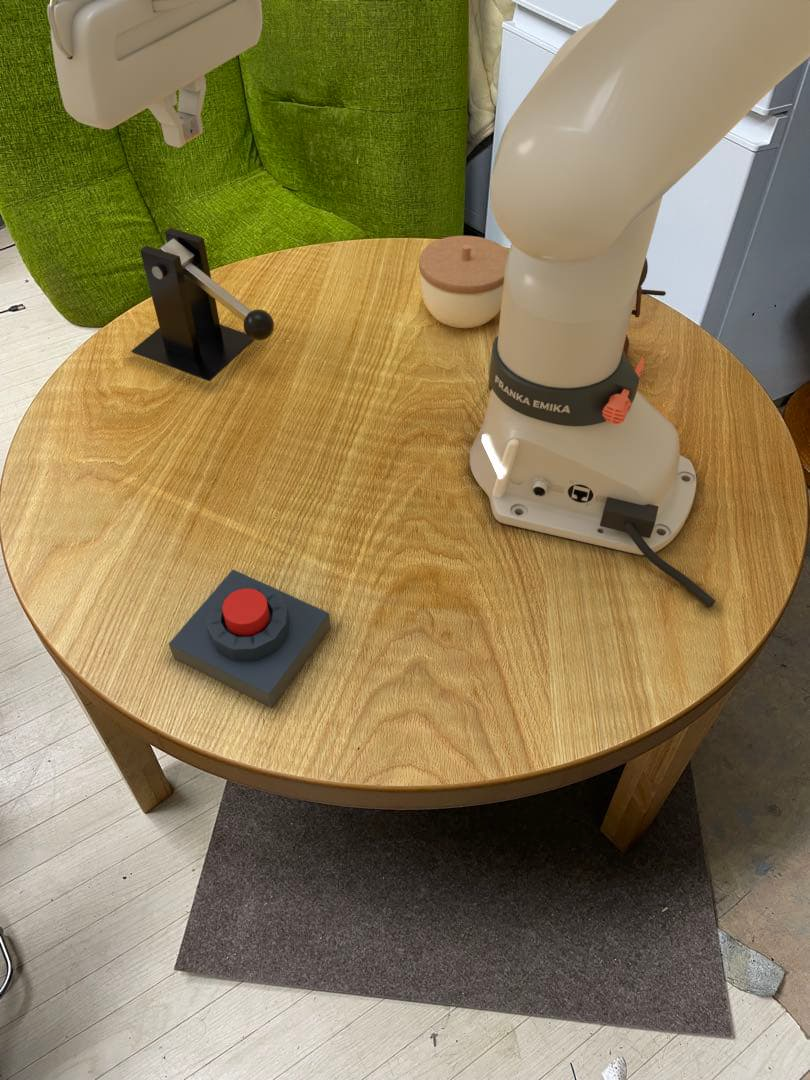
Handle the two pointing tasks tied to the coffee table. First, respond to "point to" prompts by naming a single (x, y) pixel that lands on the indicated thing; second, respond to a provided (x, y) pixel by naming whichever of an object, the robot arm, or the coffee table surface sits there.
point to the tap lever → (223, 295)
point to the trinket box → (463, 280)
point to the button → (246, 612)
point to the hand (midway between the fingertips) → (184, 139)
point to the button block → (252, 641)
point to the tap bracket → (186, 314)
